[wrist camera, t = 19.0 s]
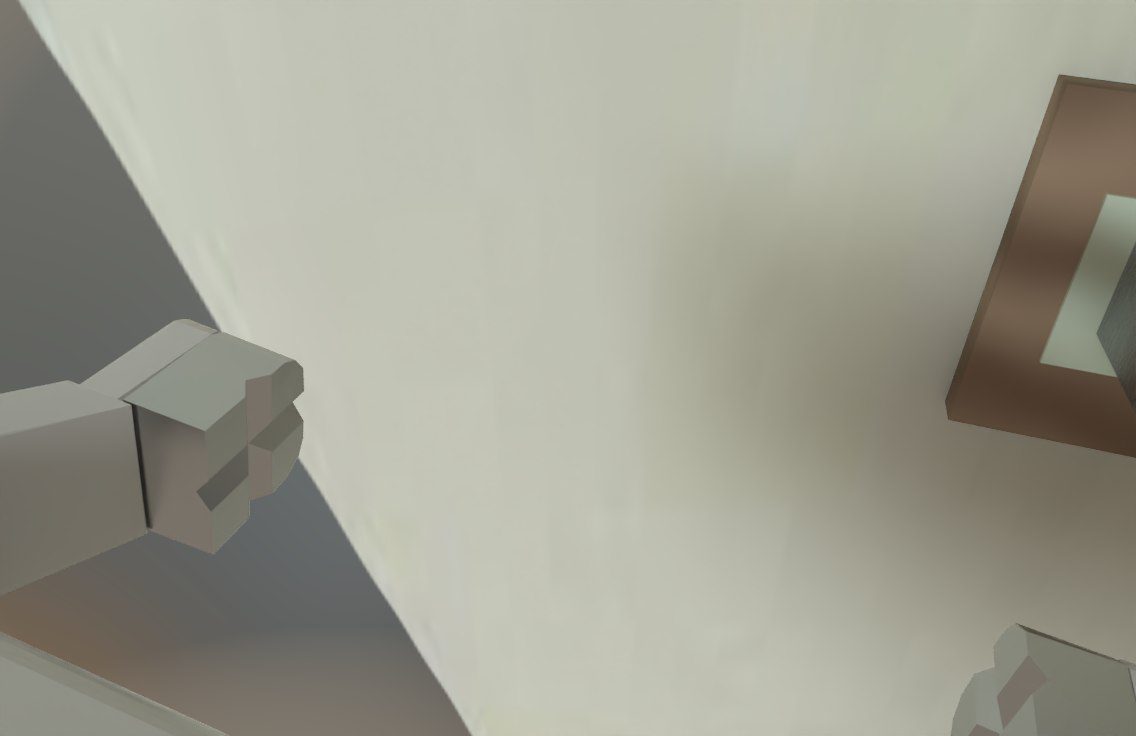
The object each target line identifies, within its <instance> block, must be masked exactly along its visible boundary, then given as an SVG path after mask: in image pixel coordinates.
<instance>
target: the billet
mask: <svg viewBox="0 0 1136 736" xmlns="http://www.w3.org/2000/svg"><path fill="white" fill-rule="evenodd" d="M1096 334H1097V336H1098V338H1099V341H1100V343H1101V345H1102V347H1103V349H1104V351H1105V353H1106V355H1107V357H1108V359H1109V361H1110V363H1111V365H1112V367H1113V369H1114V371H1115V373H1116V375H1117V377H1118V379H1119V381H1120V383H1121V385H1122V388H1123V390H1124V392H1125V394H1126V396H1127V398H1128V400H1129V402H1130V404H1131V406H1132V408H1133V410H1134V412H1135V414H1136V242H1135V244H1134V247H1133V249H1132V251H1131V254H1130V256H1129V258H1128V261H1127V263H1126V265H1125V268H1124V270H1123V272H1122V275H1121V277H1120V279H1119V282H1118V284H1117V286H1116V289H1115V291H1114V293H1113V296H1112V298H1111V300H1110V303H1109V305H1108V307H1107V310H1106V312H1105V314H1104V317H1103V319H1102V321H1101V323H1100V326H1099V328H1098V330H1097V333H1096Z"/></svg>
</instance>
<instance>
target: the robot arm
mask: <svg viewBox="0 0 1136 736" xmlns="http://www.w3.org/2000/svg"><path fill="white" fill-rule="evenodd" d="M303 391H304V379H303V367H302V366H301V365H300V364H299V363H298V362H297V361H296V360H293V359H291V358H288V357H286V356H283V355H281V354H278V353H275V352H273V351H270V350H268V349H265V348H263V347H260V346H258V345H255V344H253V343H250V342H247V341H245V340H242V339H240V338H237V337H235V336H232V335H230V334H227V333H221V332H219V331H217V330H215V329H212V328H210V327H207V326H205V325H202V324H199V323H196V322H194V321H192V320H189V319H183V320H175V321H173V322H171V323H170V324H168V325H167V326H166V327H164V328H163V329H161V330H160V331H158V332H157V333H155V334H154V335H152V336H151V337H149V338H148V339H147V340H145V341H143V342H142V343H140V344H139V345H137V346H136V347H135V348H133V349H132V350H130V351H129V352H127V353H126V354H124V355H123V356H121V357H120V358H118V359H117V360H115V361H114V362H113V363H111V364H109V365H108V366H106V367H105V368H104V369H102V370H101V371H99V372H98V373H96V374H95V375H93V376H92V377H90V378H89V379H88V380H86V381H84V382H83V383H81V384H80V385H79V384H76V383H74V382H71V381H63V382H58V383H53V384H48V385H43V386H38V387H33V388H28V389H23V390H18V391H13V392H8V393H3V394H0V595H3V594H5V593H8V592H10V591H12V590H14V589H17V588H19V587H22V586H24V585H26V584H29V583H31V582H33V581H36V580H38V579H41V578H43V577H45V576H47V575H50V574H53V573H55V572H57V571H60V570H62V569H64V568H67V567H69V566H72V565H74V564H76V563H79V562H81V561H83V560H86V559H88V558H91V557H93V556H95V555H97V554H100V553H102V552H105V551H107V550H109V549H112V548H114V547H117V546H119V545H121V544H124V543H126V542H129V541H131V540H133V539H136V538H138V537H140V536H143V535H145V534H147V530H150V531H153V532H155V533H158V534H160V535H163V536H166V537H168V538H171V539H174V540H176V541H179V542H182V543H184V544H187V545H190V546H192V547H195V548H197V549H200V550H203V551H205V552H208V553H210V554H213V555H214V554H215V553H216V551H217V550H218V549H219V548H220V547H221V546H222V545H223V544H224V543H225V542H226V541H227V540H228V539H229V538H230V537H231V536H232V535H233V534H234V533H235V532H236V531H237V530H238V529H239V527H241V526H242V524H243V523H244V522H245V521H246V520H247V519H248V518H249V517H250V516H249V500H252V499H256V498H259V497H262V496H265V495H268V494H271V493H273V492H274V491H275V490H276V489H277V488H278V487H279V485H280V484H281V483H282V482H283V481H284V480H285V479H286V478H287V476H288V474H289V473H290V471H291V469H292V467H293V465H294V463H295V461H296V459H297V458H298V456H299V452H300V448H301V444H302V439H303V419H302V417H301V416H300V414H299V412H298V411H297V409H296V407H295V405H294V404H293V401H294V400H295V399H296V398H297V397H298V396H299V395H300V394H301V393H302V392H303ZM994 660H995V668H992V669H989V670H985V671H982V672H979V673H976V674H974V676H973V678H972V679H971V681H970V682H969V684H968V686H967V687H966V689H965V690H964V692H963V693H962V695H961V698H960V701H959V704H958V707H957V710H956V712H955V715H954V718H953V724H952V731H951V736H1136V665H1135V664H1132V663H1129V662H1126V661H1123V660H1116V659H1114V658H1112V657H1109V656H1106V655H1103V654H1100V653H1098V652H1095V651H1092V650H1089V649H1086V648H1084V647H1081V646H1078V645H1075V644H1072V643H1070V642H1067V641H1064V640H1061V639H1058V638H1056V637H1053V636H1050V635H1047V634H1044V633H1042V632H1039V631H1036V630H1033V629H1030V628H1028V627H1025V626H1022V625H1019V624H1017V623H1015V624H1014V625H1013V626H1011V627H1010V628H1008V629H1007V630H1006V631H1005V632H1004V633H1003V634H1002V636H1001V637H1000V639H999V640H998V641H997V643H996V644H995V646H994ZM0 736H230V735H228V734H225V733H223V732H221V731H218V730H217V729H214V728H212V727H210V726H208V725H205V724H203V723H200V722H199V721H196V720H194V719H192V718H190V717H188V716H186V715H183V714H181V713H179V712H177V711H174V710H172V709H170V708H168V707H166V706H163V705H161V704H159V703H157V702H154V701H152V700H150V699H148V698H145V697H143V696H141V695H139V694H137V693H135V692H132V691H130V690H128V689H126V688H123V687H121V686H119V685H117V684H115V683H112V682H110V681H108V680H106V679H103V678H101V677H99V676H97V675H95V674H92V673H90V672H88V671H86V670H83V669H81V668H79V667H77V666H75V665H72V664H70V663H68V662H66V661H64V660H61V659H59V658H57V657H55V656H53V655H50V654H48V653H46V652H43V651H41V650H39V649H37V648H35V647H33V646H30V645H28V644H26V643H24V642H21V641H19V640H17V639H15V638H13V637H10V636H8V635H6V634H4V633H2V632H0Z"/></svg>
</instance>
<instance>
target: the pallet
mask: <svg viewBox="0 0 1136 736" xmlns="http://www.w3.org/2000/svg"><path fill="white" fill-rule="evenodd" d="M1135 242H1136V85H1134V84H1127V83H1119V82H1112V81H1104V80H1096V79H1089V78H1081V77H1074V76H1066V75H1059V76H1058V79H1057V82H1056V85H1055V88H1054V91H1053V94H1052V96H1051V99H1050V102H1049V105H1048V108H1047V111H1046V114H1045V117H1044V119H1043V122H1042V125H1041V128H1040V131H1039V134H1038V137H1037V139H1036V142H1035V145H1034V148H1033V151H1032V154H1031V157H1030V160H1029V162H1028V165H1027V168H1026V171H1025V174H1024V177H1023V180H1022V183H1021V185H1020V188H1019V191H1018V194H1017V197H1016V200H1015V203H1014V206H1013V208H1012V211H1011V214H1010V217H1009V220H1008V223H1007V226H1006V229H1005V231H1004V234H1003V237H1002V240H1001V243H1000V246H999V249H998V251H997V254H996V257H995V260H994V263H993V266H992V269H991V272H990V274H989V277H988V280H987V283H986V286H985V289H984V292H983V295H982V297H981V300H980V303H979V306H978V309H977V312H976V315H975V318H974V320H973V323H972V326H971V329H970V332H969V335H968V338H967V341H966V343H965V346H964V349H963V352H962V355H961V358H960V361H959V363H958V366H957V369H956V372H955V375H954V378H953V381H952V384H951V386H950V389H949V392H948V395H947V398H946V401H945V403H946V409H947V415H948V420H953V421H957V422H962V423H967V424H972V425H977V426H982V427H987V428H992V429H997V430H1002V431H1007V432H1012V433H1017V434H1022V435H1027V436H1032V437H1037V438H1042V439H1047V440H1052V441H1057V442H1062V443H1067V444H1071V445H1076V446H1081V447H1086V448H1091V449H1096V450H1101V451H1106V452H1111V453H1116V454H1121V455H1126V456H1131V457H1136V414H1135V412H1134V410H1133V408H1132V406H1131V404H1130V402H1129V400H1128V398H1127V396H1126V394H1125V392H1124V390H1123V388H1122V385H1121V383H1120V381H1119V379H1118V377H1117V375H1116V373H1115V371H1114V369H1113V367H1112V365H1111V363H1110V361H1109V359H1108V357H1107V355H1106V353H1105V351H1104V349H1103V347H1102V345H1101V343H1100V341H1099V338H1098V336H1097V334H1096V333H1097V330H1098V328H1099V326H1100V323H1101V321H1102V319H1103V317H1104V314H1105V312H1106V310H1107V307H1108V305H1109V303H1110V300H1111V298H1112V296H1113V293H1114V291H1115V289H1116V286H1117V284H1118V282H1119V279H1120V277H1121V275H1122V272H1123V270H1124V268H1125V265H1126V263H1127V261H1128V258H1129V256H1130V254H1131V251H1132V249H1133V247H1134V244H1135Z"/></svg>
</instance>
